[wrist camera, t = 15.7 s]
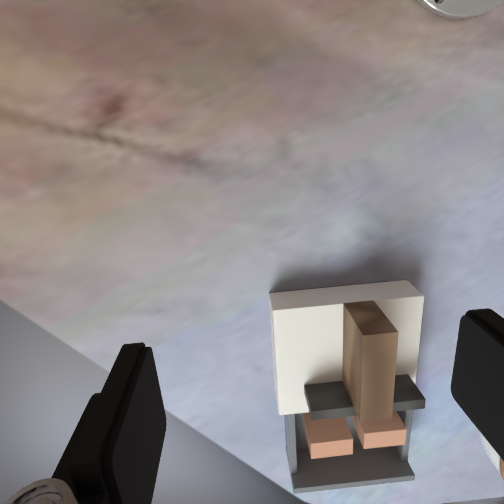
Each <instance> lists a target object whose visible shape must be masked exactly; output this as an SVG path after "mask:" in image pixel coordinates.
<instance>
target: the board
mask: <svg viewBox="0 0 504 504" xmlns="http://www.w3.org/2000/svg"><path fill="white" fill-rule="evenodd" d="M371 300H374V301H375V303H376V304H377V305H378V306H379V308H380V309H381V310H382V312H383V313H384V314H385V315H386V317H387V318H388V319H389V320H390V322H391V323H392V324H393V326H394V327H395V328H396V329H397V331H398V332H399V333H398V346H397V359H396V372H395V375H403V374H408V375H409V376H410V378H411V379H412V381H413V382H414V383H415V382H416V372H417V362H418V352H419V342H420V332H421V322H422V313H423V303H424V295H423V294H422V293H421V292H419V291H418V290H417V289H416V288H415V287H414V286H413V285H412V284H411V283H410V282H409V281H408V280H400V281H390V282H379V283H369V284H358V285H348V286H337V287H327V288H316V289H306V290H295V291H285V292H275V293H269V305H270V320H271V335H272V350H273V365H274V380H275V393H276V399H277V404H278V410H279V415H287V414H296V413H306V412H309V409H308V405H307V401H306V398H305V394H304V385H307V384H316V383H326V382H336V381H342V368H343V303H351V302H361V301H371Z"/></svg>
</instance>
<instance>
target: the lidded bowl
mask: <svg viewBox="0 0 504 504" xmlns="http://www.w3.org/2000/svg"><path fill="white" fill-rule="evenodd" d="M478 433H479V437H480V440H481V442H482V445H483V447H484V449H485V451H486V453H487V455H488V456H489V458H490V460H491V461H492V462H493V464H494V465H495V467H496V468H497V470H498V471H499V472H500V474H501V476H502V478H503V479H504V461H503V460H502V459H501V457H500V456H499V455H498V454H497V452H496V451H495V450H494V449H493V447H492V446H491V445H490V444H489V442H488V441H487V440H486V438H485V437H484V436H483V435H482V433H481V432H480V431H479V430H478Z"/></svg>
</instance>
